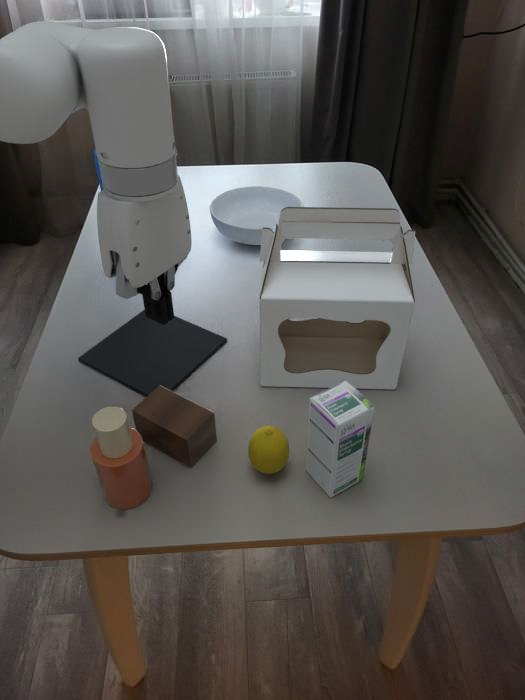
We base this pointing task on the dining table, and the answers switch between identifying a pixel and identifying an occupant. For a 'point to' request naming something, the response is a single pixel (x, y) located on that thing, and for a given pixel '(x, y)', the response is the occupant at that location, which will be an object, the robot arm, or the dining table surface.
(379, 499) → the dining table surface
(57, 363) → the dining table surface
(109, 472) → the two-tone stacked cylinder
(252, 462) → the lemon
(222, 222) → the serving bowl
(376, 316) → the gable box
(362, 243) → the dining table surface
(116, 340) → the mat
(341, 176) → the dining table surface
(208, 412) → the block
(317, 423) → the syrup box
